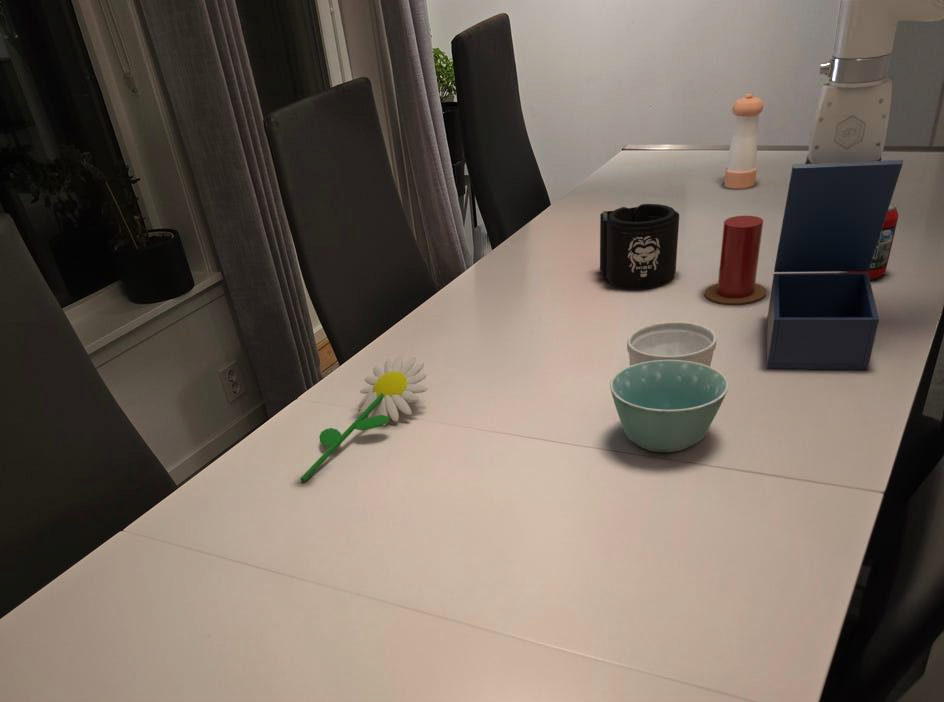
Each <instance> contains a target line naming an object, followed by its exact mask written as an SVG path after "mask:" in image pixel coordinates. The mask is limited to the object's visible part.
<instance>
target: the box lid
mask: <svg viewBox="0 0 944 702" xmlns="http://www.w3.org/2000/svg"><path fill="white" fill-rule="evenodd" d="M903 164H904V161H903V159H891V160H889V159H888V160H881V161H865V162H842V163H819V164H804V163H799V164H797V163H796V164H792V165H791V166H792V167H791V171H790V172H791V173H790V179H789V183H788V190H787V193H786V194H787V195H786V201H785V206H784V213H783V218H782V224H781V229H780V235H779V240H778V245H777V252H776V257H775V261H774V262H775V263H774V267H773V268H774V269H773V272H774V273H841V272H847V271H869V268H870V265H871V262H872V259H873V256H874V253H875V249H876V246H877V243H878V240H879V237H880V234H881V231H882V227H883V224H884V221H885V218H886V215H887V212H888V209H889V205H890V202H892V199H893V196H894V193H895V190H896V187H897V183H898V179H899V177H900V174H901V171H902V168H903Z"/></svg>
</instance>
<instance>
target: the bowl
mask: <svg viewBox="0 0 944 702" xmlns="http://www.w3.org/2000/svg"><path fill="white" fill-rule="evenodd" d="M609 386H610V387H609V388H610V393H611V395H612V399H613V403H614V406H615V409H616V412H617V415H618V417H619V421H620V423H621V426H622V429H623V432H624V434H625V436H626V437H627V438H628V440H629V441H631V442H632V443H634V444H635V445H637V446H638V447H640V448H642V449H644V450H645V451H650V452H654V453H662V454H663V453H676V452H680V451H683V450H686V449H688V448H690V447H692V446H693V445H696V444H697V443H698V442H700V441H701V440H702V439H703V438H704V437H706V434H707V432H708V431H709V429H710V427H711V425H712V423H713V421H714V419H715V418H716V415H717V413H718V411H719V409H720V407H721V405H722V404H723V401H724V399H725V398H726V395H727V393H728V391H729V386H730V385H729V381H728V378H727V377H726V376H725V374H723V373H722V372H720V371H719V370H718V369H716V368H714V367H712V366H710V367H709V366H707V365H703V364H700V363H696V362H690V361H683V360H655V361H647V362H642V363H638V364H635V365H631V366H630V365H628V366H627V367H625V368H623V369H621V370H620V371H618V372H617V373H615V375H614V376H613V377H612V378H611V380H610V384H609Z"/></svg>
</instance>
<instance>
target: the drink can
mask: <svg viewBox="0 0 944 702" xmlns="http://www.w3.org/2000/svg"><path fill="white" fill-rule="evenodd" d="M763 227H764V219H763V218H762V217H759V216H756V215H735V216H732V217H729V218H726V219H725V220H724V221H723V229H722V239H721V247H720V248H721V249H720V257H719V258H720V259H719V269H718V279H717V280H718V281H717V284H718V288H717V293H718V294H719V295H720V296H722V297H726V298H744V297H748V296H750V295H752V294H753V293H754V289H755V283H756V281H757V273H758V265H759V257H760V251H761V241H762V234H763Z"/></svg>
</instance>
